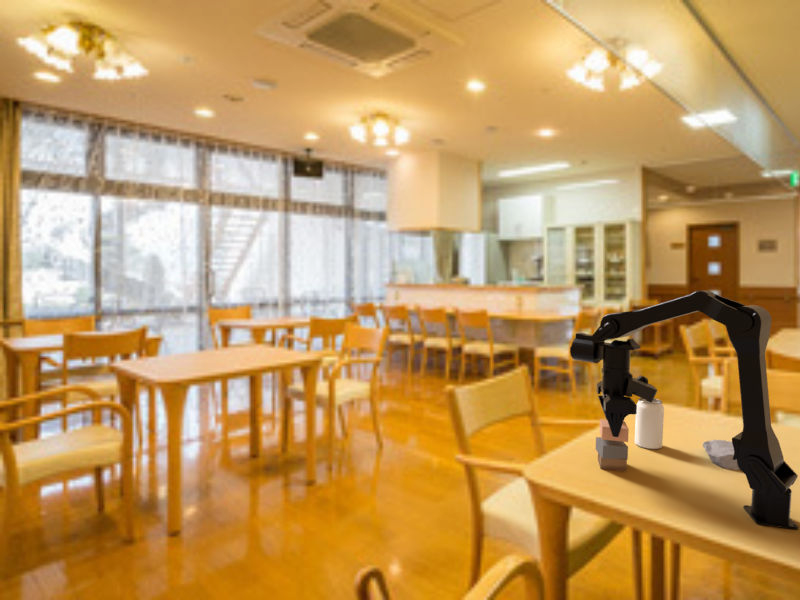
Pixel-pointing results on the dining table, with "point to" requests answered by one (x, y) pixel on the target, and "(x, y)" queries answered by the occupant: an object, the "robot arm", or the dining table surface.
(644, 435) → the can
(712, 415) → the dining table surface
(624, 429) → the terracotta block
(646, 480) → the dining table surface
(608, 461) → the walnut block
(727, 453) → the stone block
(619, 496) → the dining table surface
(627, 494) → the dining table surface
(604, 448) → the gray block
